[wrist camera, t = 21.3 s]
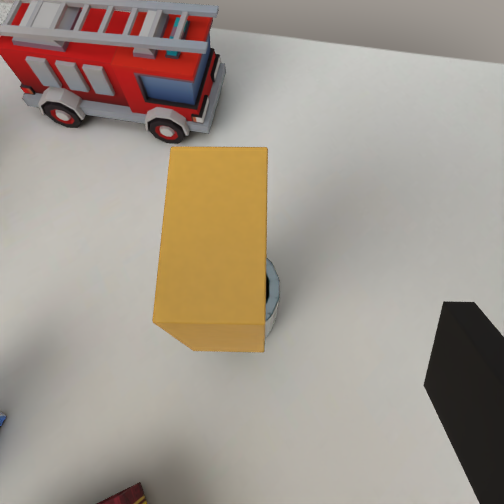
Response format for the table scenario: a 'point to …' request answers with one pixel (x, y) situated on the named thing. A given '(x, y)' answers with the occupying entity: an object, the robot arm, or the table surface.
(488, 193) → the table surface
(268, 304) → the coffee cup
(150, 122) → the toy fire truck
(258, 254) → the block
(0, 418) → the medicine box
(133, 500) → the decorative book
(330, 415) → the table surface
